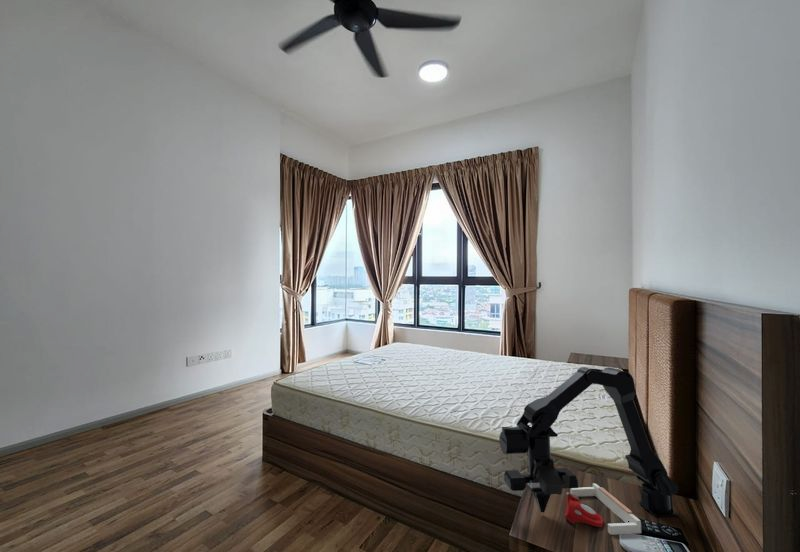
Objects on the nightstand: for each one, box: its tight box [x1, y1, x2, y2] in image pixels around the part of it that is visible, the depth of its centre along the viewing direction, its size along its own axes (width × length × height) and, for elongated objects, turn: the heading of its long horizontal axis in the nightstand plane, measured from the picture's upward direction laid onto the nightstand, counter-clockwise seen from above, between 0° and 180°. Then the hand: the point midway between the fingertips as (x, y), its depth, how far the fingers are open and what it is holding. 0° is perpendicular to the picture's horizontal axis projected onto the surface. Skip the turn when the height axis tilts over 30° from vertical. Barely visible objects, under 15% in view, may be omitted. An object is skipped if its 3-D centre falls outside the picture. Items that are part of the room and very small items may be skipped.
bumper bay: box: [569, 482, 642, 536], centre depth 95 cm, size 8×18×3 cm, turn 3°
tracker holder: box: [564, 492, 604, 528], centre depth 93 cm, size 12×4×10 cm
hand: (541, 511), depth 94 cm, fingers closed
